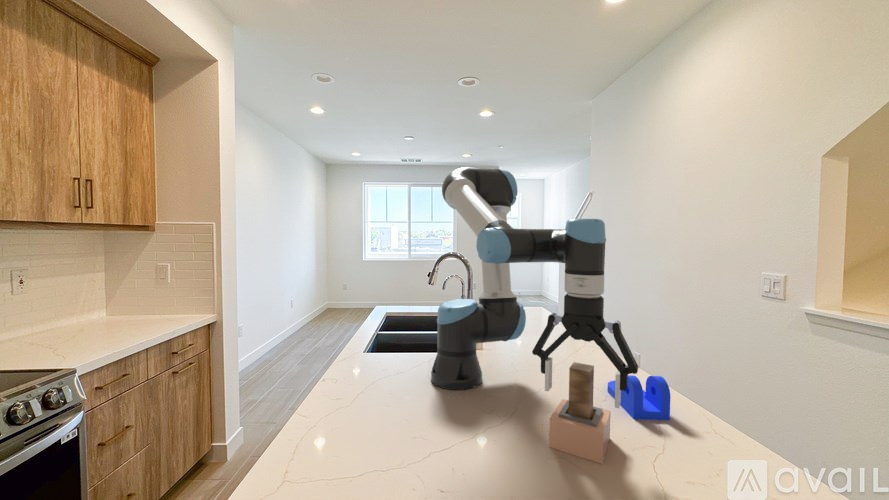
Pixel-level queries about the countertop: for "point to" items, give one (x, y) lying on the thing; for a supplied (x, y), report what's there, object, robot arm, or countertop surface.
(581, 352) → the countertop surface
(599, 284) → the robot arm
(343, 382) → the countertop surface
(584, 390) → the tall wooden block
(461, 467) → the countertop surface
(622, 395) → the bracket
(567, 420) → the peach square socket block
